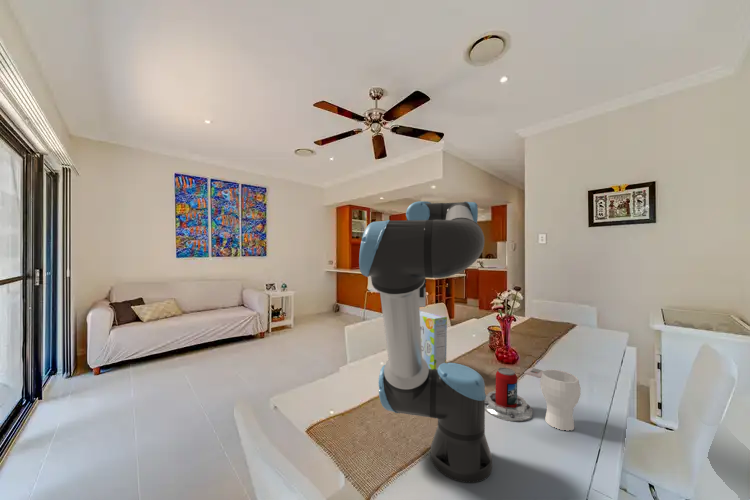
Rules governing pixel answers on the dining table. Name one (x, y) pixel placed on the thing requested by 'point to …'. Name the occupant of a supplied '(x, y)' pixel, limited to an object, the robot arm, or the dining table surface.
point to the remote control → (534, 372)
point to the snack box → (433, 339)
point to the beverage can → (506, 388)
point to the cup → (560, 397)
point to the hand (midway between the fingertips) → (421, 303)
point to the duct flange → (508, 409)
